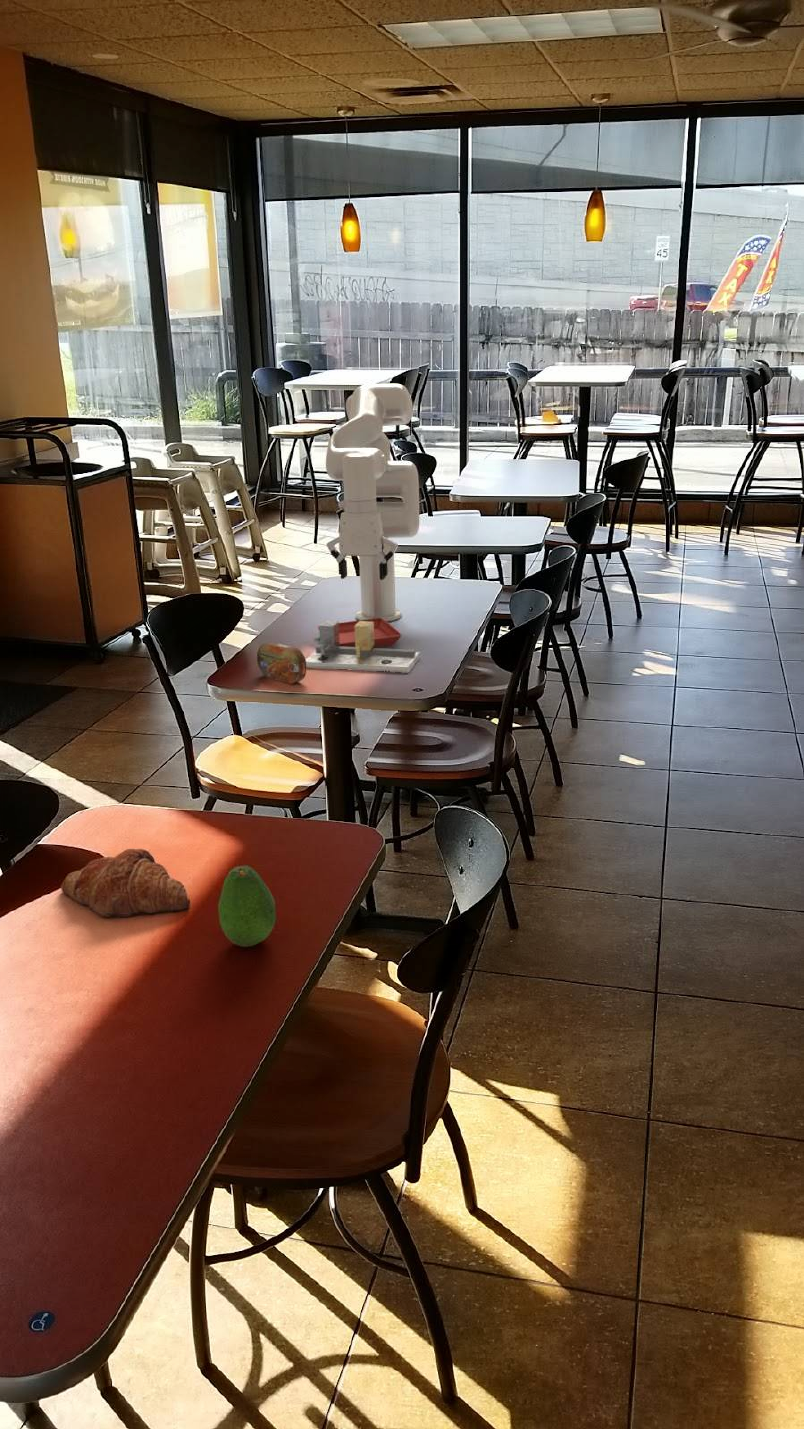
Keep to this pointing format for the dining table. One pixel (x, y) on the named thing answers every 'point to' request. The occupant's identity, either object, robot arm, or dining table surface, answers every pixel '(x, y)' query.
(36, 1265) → the dining table surface
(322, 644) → the hole plate
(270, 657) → the tin
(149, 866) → the pastry
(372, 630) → the tan stemmed block
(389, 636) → the plant saucer
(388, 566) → the robot arm
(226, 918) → the avocado
